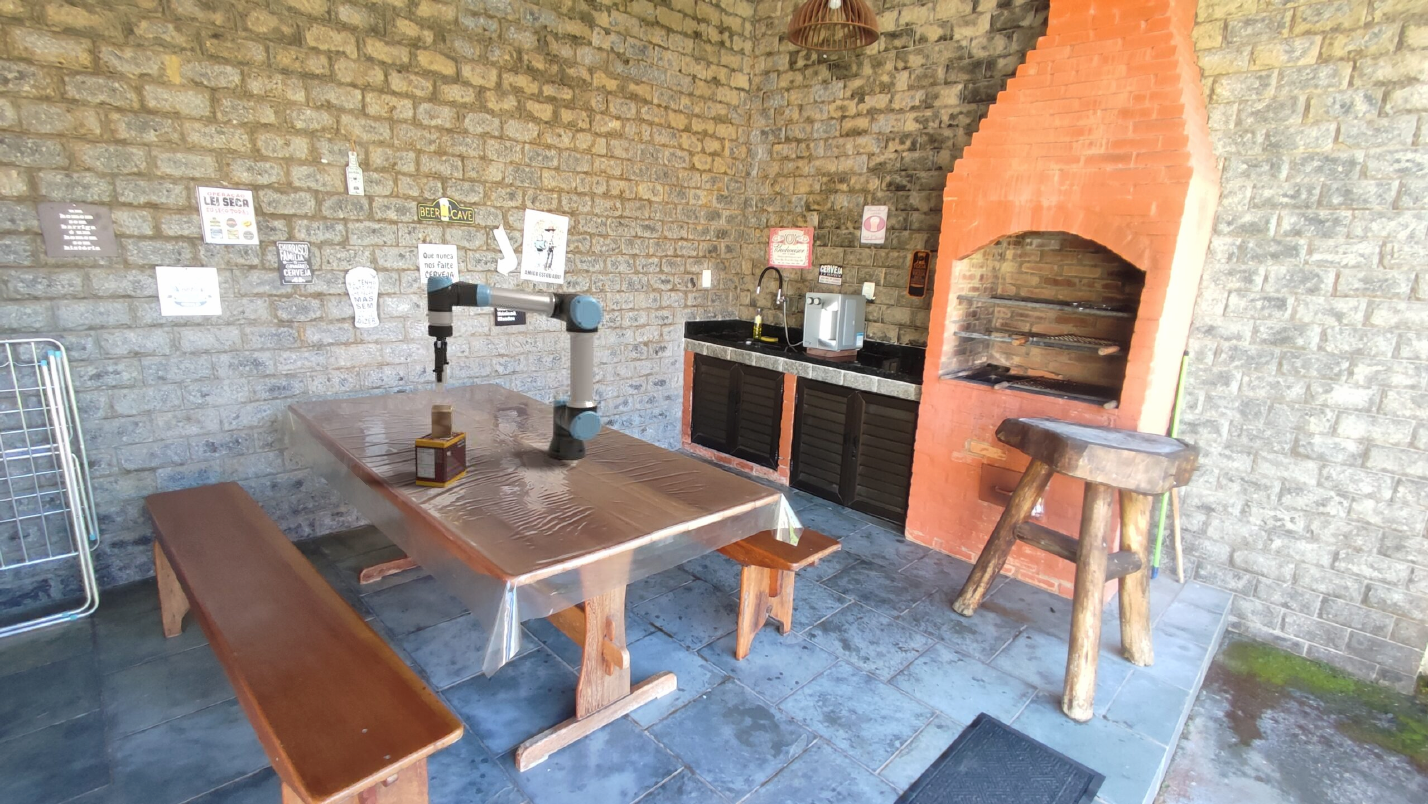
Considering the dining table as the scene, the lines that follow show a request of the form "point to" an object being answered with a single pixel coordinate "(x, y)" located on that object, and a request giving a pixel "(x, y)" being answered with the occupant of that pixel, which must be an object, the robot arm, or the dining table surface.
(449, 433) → the walnut block
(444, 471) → the supplement box
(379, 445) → the dining table surface
